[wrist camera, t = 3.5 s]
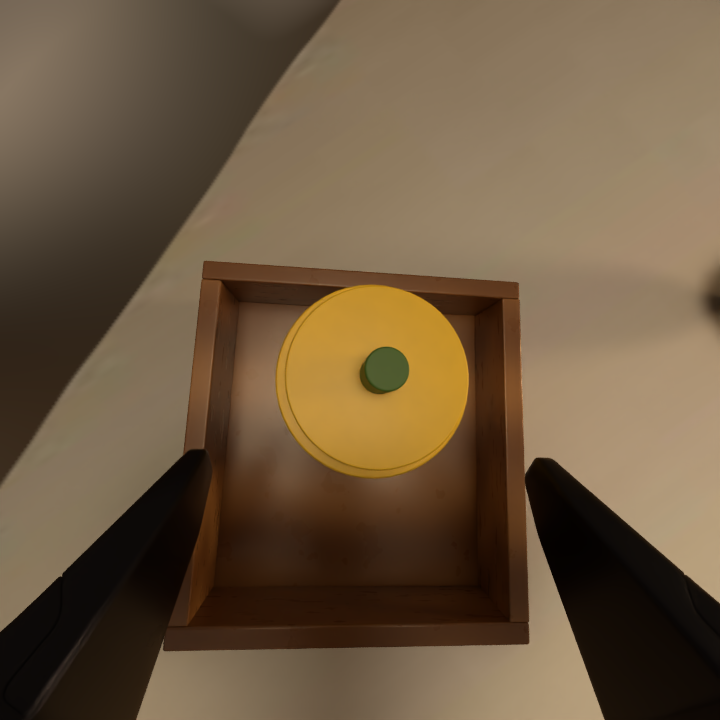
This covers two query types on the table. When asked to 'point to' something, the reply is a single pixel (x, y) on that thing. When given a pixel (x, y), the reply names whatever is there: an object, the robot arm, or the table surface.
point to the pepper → (372, 381)
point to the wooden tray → (350, 487)
